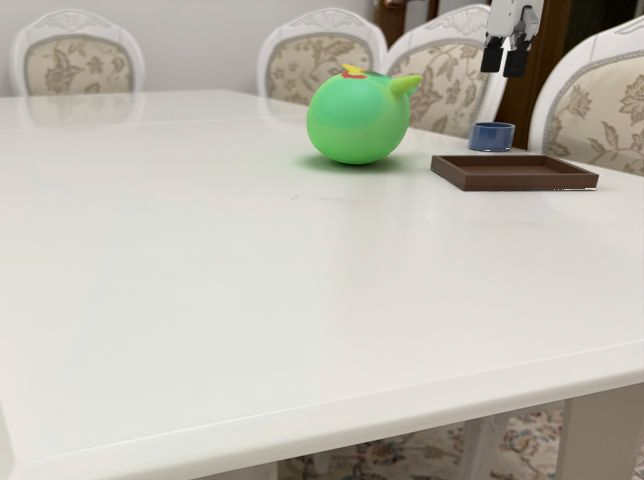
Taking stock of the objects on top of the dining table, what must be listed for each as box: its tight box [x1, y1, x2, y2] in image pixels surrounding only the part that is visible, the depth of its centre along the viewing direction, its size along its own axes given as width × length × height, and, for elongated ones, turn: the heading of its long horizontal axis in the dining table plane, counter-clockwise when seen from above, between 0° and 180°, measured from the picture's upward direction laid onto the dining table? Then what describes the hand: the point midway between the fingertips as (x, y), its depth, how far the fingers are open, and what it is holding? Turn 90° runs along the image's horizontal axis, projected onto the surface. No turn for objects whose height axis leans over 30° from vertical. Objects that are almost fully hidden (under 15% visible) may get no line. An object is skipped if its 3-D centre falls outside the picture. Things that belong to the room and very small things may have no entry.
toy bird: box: [305, 63, 423, 165], centre depth 107 cm, size 18×17×15 cm
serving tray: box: [429, 154, 600, 192], centre depth 98 cm, size 18×15×2 cm
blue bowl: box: [467, 121, 516, 152], centre depth 119 cm, size 7×7×4 cm
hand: (500, 74), depth 115 cm, fingers open, 9 cm apart
